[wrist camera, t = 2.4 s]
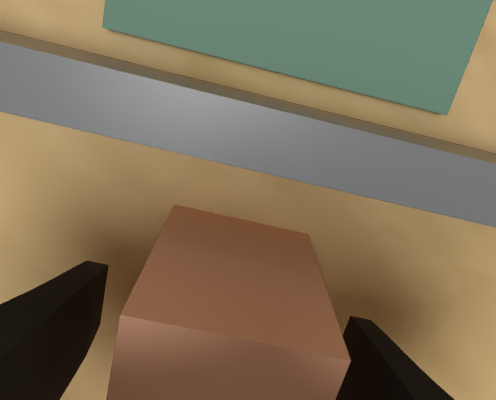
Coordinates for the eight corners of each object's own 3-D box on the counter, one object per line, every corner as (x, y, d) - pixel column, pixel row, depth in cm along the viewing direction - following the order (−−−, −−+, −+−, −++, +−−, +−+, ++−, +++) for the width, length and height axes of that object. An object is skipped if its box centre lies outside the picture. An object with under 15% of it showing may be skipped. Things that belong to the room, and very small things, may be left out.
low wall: (529, 211, 13) (605, 252, 10) (-41, 74, 12) (-132, 80, 9) (550, 167, 13) (637, 199, 10) (-41, 20, 11) (-136, 7, 8)
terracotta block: (273, 342, 15) (289, 515, 9) (152, 318, 15) (92, 483, 9) (307, 233, 14) (350, 360, 8) (174, 204, 13) (120, 314, 8)
